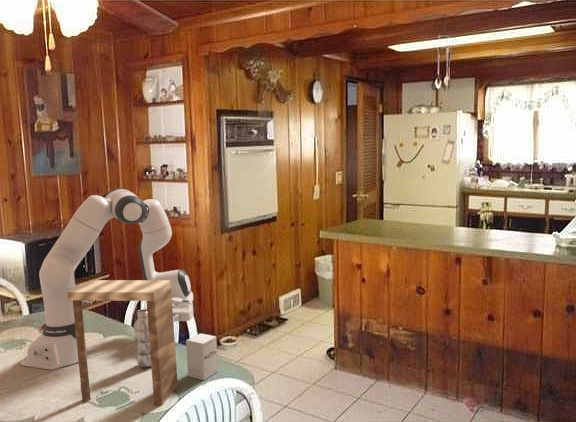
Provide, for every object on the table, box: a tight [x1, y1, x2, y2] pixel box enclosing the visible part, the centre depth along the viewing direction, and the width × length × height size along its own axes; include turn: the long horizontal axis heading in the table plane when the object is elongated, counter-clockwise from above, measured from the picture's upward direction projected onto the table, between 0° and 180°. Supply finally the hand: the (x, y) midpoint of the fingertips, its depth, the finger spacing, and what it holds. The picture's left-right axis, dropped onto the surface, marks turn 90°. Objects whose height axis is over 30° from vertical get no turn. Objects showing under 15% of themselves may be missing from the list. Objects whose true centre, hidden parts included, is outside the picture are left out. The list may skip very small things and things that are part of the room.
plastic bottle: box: [133, 308, 151, 369], centre depth 178 cm, size 6×7×20 cm
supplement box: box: [185, 333, 219, 381], centre depth 170 cm, size 7×7×13 cm
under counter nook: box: [67, 279, 179, 406], centre depth 157 cm, size 27×13×34 cm, turn 82°
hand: (158, 321), depth 189 cm, fingers open, 8 cm apart
